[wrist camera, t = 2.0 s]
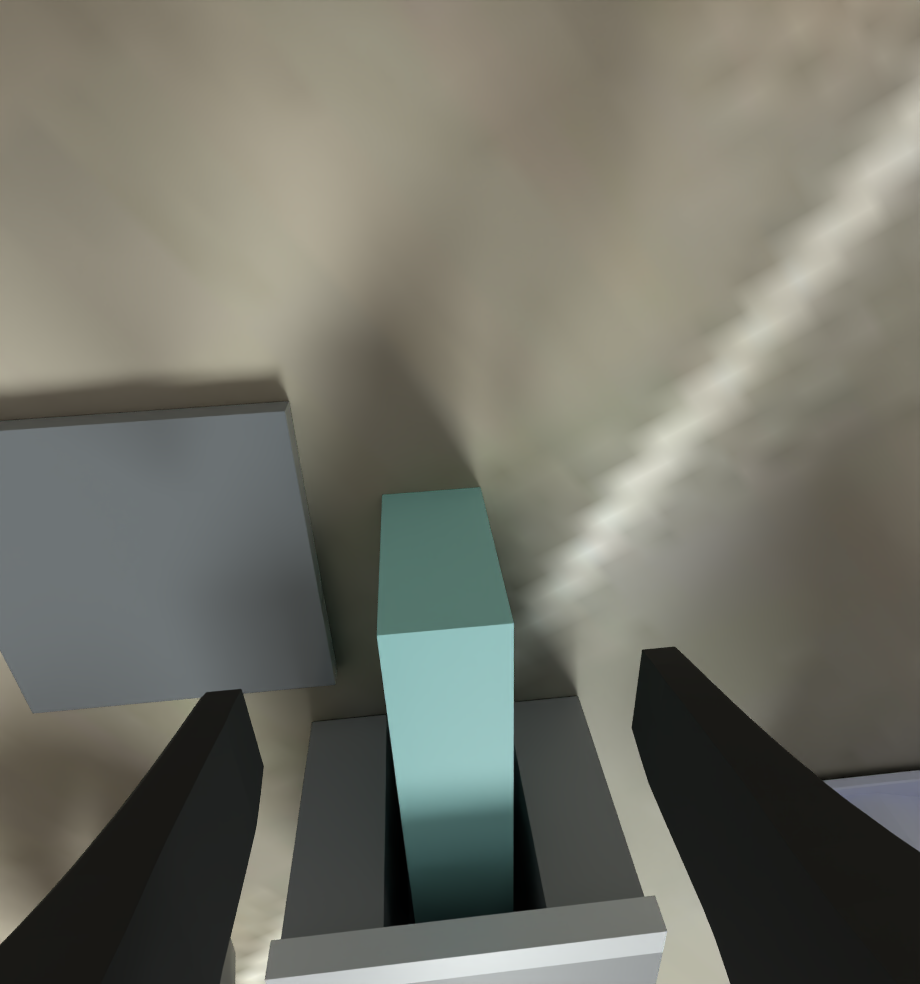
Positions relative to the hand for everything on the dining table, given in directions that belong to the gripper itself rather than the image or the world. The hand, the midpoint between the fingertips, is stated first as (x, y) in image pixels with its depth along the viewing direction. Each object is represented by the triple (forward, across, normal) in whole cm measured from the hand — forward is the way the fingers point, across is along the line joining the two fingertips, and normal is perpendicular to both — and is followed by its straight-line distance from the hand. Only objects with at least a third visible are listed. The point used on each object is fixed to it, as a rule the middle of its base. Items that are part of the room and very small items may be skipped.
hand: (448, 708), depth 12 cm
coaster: (+5, +7, 0) cm, 9 cm away
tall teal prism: (+6, 0, +4) cm, 7 cm away
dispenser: (+5, 0, +10) cm, 11 cm away
